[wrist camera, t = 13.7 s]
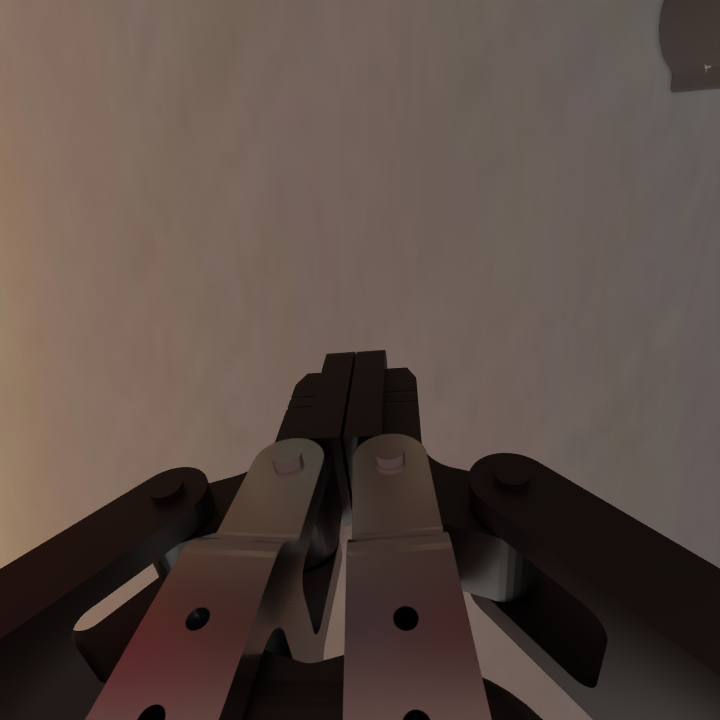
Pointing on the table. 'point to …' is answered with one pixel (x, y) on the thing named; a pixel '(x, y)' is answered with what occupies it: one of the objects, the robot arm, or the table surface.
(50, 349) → the table surface
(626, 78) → the table surface
